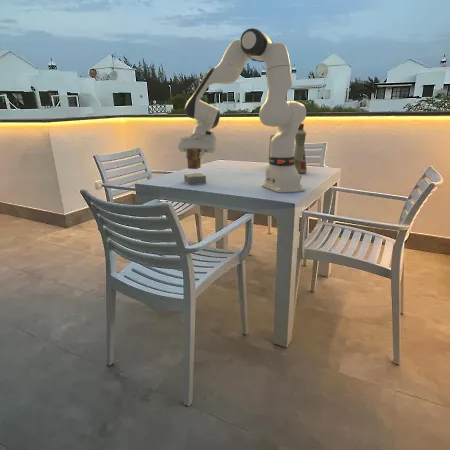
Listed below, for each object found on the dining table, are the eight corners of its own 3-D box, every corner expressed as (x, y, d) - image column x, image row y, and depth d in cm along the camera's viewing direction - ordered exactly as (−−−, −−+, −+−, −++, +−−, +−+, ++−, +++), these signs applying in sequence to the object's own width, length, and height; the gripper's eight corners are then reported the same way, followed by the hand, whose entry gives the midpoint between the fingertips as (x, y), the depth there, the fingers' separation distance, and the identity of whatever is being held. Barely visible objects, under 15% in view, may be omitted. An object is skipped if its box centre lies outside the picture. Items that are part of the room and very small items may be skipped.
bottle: (290, 171, 198) (292, 122, 189) (306, 171, 197) (309, 122, 187) (290, 174, 190) (293, 123, 181) (306, 174, 189) (310, 123, 179)
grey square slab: (206, 183, 172) (205, 176, 171) (189, 185, 169) (188, 177, 167) (200, 180, 180) (200, 173, 178) (184, 182, 177) (184, 174, 175)
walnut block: (200, 167, 173) (199, 148, 170) (196, 169, 169) (195, 149, 165) (191, 167, 175) (190, 147, 171) (187, 168, 170) (186, 148, 167)
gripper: (180, 132, 175) (172, 153, 170) (216, 132, 169) (209, 154, 164) (184, 140, 181) (177, 160, 175) (219, 140, 174) (213, 162, 169)
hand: (193, 157), depth 169 cm, fingers closed on walnut block, 5 cm apart
